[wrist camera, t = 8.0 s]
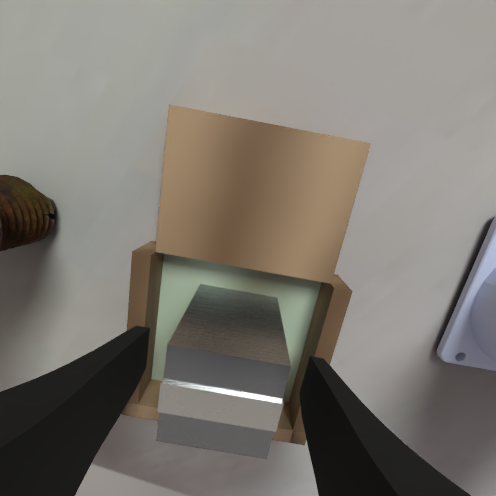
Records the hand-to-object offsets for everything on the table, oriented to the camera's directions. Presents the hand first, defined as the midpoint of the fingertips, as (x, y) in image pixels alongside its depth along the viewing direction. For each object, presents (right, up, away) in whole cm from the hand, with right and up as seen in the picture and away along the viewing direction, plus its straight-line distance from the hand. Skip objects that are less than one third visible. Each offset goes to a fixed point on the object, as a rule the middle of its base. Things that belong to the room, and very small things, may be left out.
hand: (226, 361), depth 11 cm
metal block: (0, +1, +2) cm, 2 cm away
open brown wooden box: (+1, +3, +2) cm, 4 cm away
